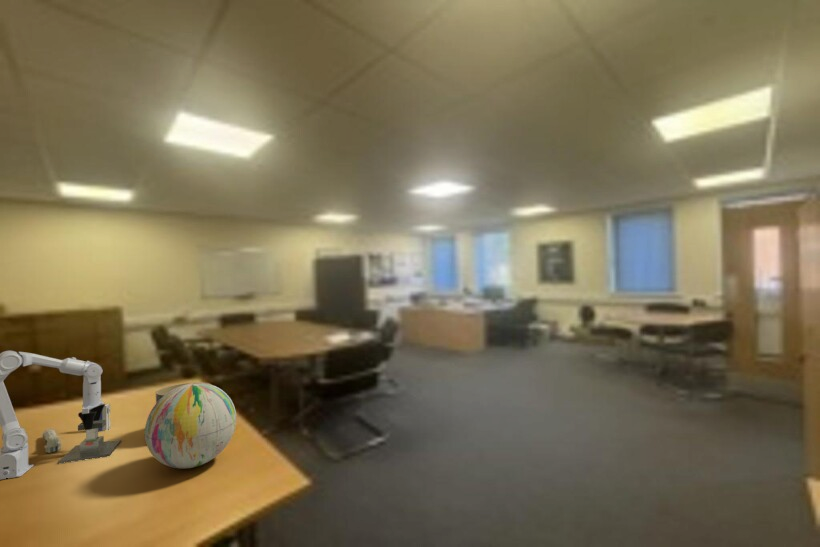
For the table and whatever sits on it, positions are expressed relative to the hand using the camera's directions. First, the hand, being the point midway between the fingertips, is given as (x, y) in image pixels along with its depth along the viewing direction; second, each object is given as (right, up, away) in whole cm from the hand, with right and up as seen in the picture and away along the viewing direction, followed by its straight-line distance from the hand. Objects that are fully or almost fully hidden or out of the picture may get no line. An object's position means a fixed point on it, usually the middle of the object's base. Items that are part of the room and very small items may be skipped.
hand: (92, 426), depth 161 cm
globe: (+48, -9, -13) cm, 51 cm away
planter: (+27, -11, +19) cm, 35 cm away
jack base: (0, -10, 0) cm, 10 cm away
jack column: (0, -6, 0) cm, 6 cm away
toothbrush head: (-24, -12, +8) cm, 28 cm away
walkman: (-16, -12, +24) cm, 31 cm away
